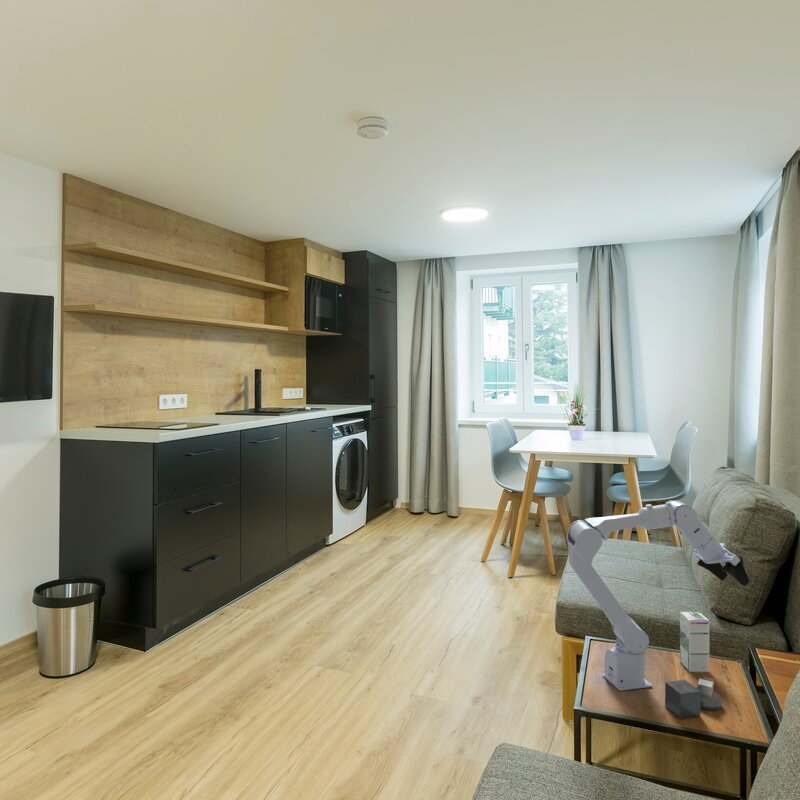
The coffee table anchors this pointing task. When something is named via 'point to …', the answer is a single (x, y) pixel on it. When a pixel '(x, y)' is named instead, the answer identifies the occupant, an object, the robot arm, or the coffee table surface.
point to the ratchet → (709, 695)
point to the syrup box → (694, 641)
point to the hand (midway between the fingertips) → (735, 580)
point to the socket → (682, 699)
